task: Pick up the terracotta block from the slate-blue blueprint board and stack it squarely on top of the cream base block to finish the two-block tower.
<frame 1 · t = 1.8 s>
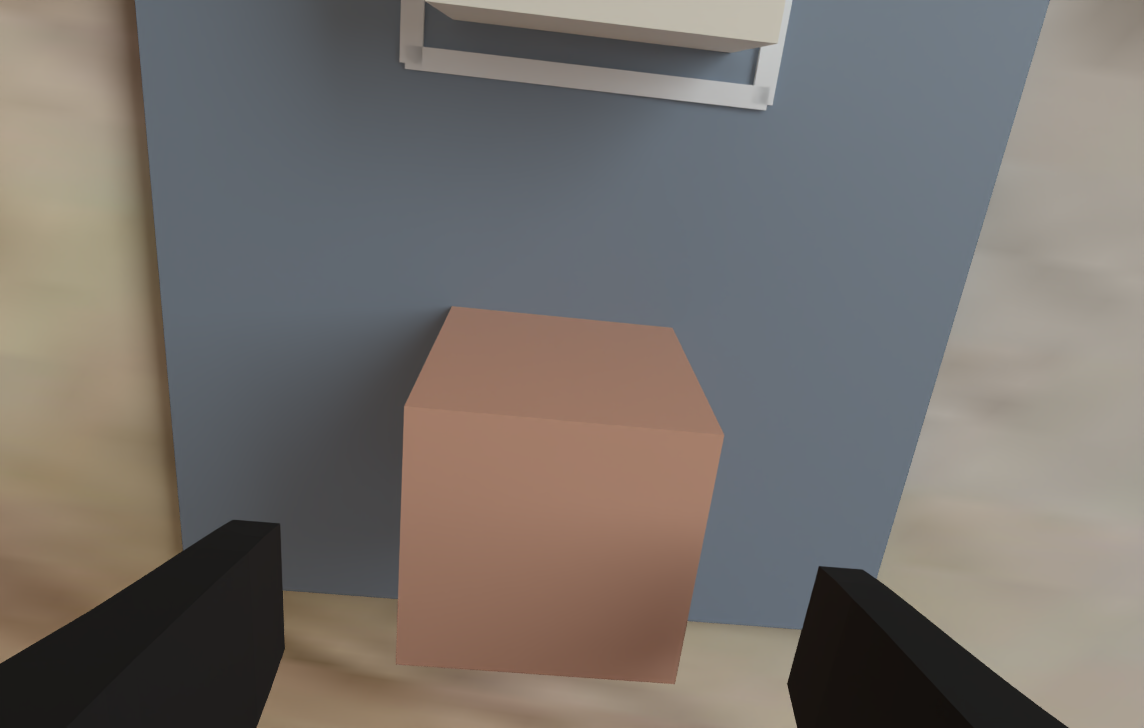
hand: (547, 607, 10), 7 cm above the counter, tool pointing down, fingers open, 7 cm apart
terracotta block: (552, 417, 16), point 1 cm above the counter, touching blueprint board
blueprint board: (577, 175, 15), on the counter
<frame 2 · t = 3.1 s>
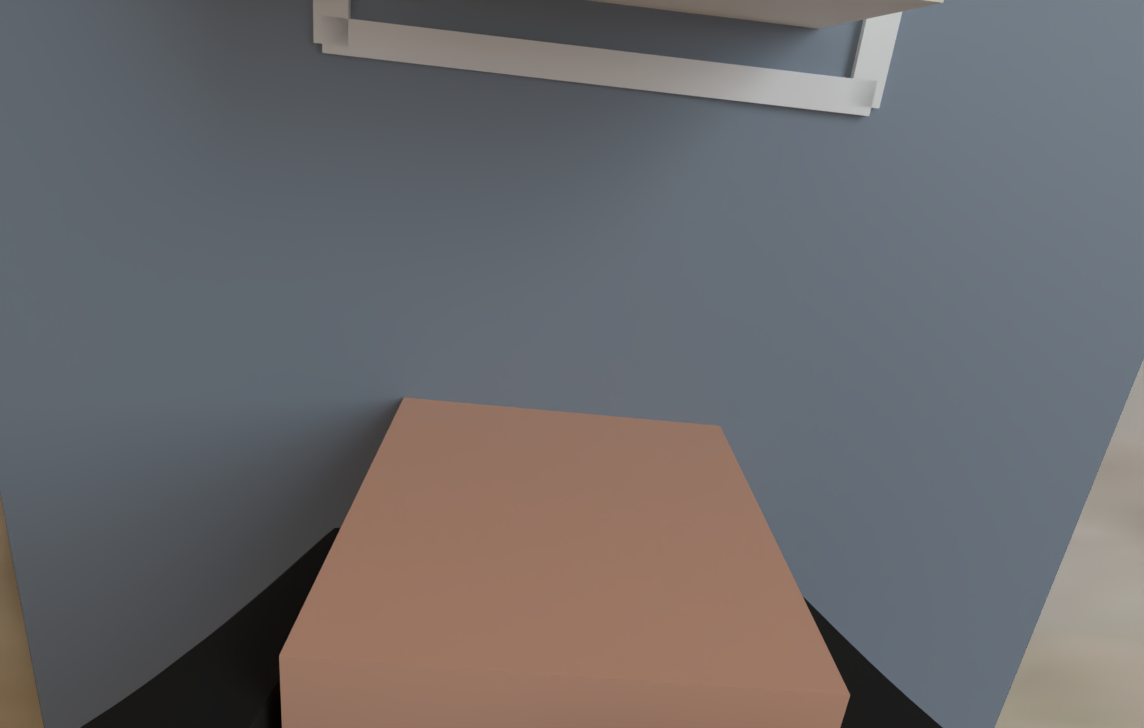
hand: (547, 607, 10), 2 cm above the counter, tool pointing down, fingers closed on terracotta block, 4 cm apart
terracotta block: (548, 546, 11), point 1 cm above the counter, touching blueprint board, gripper
blueprint board: (584, 210, 10), on the counter
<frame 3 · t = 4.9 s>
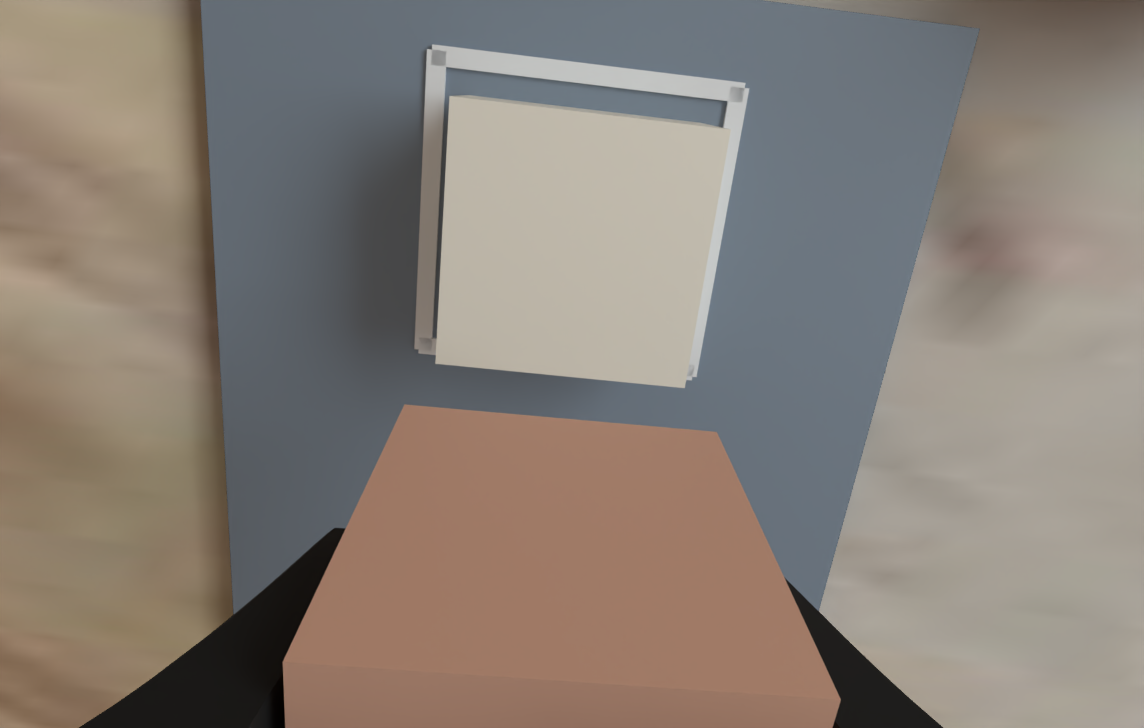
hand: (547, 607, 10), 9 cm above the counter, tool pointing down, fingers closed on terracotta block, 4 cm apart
terracotta block: (547, 550, 11), point 8 cm above the counter, touching gripper
blueprint board: (549, 415, 19), on the counter
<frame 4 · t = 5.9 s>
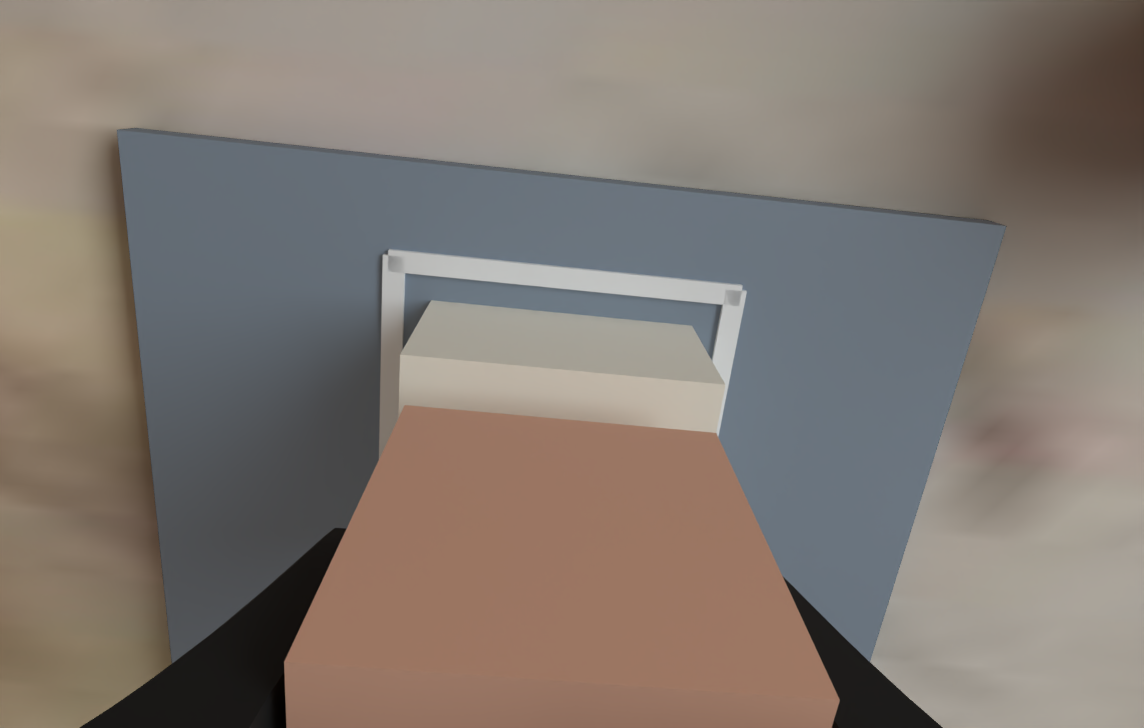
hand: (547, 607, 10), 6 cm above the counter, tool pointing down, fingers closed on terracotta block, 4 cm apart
terracotta block: (547, 551, 11), point 4 cm above the counter, touching gripper
blueprint board: (529, 612, 17), on the counter
when the fingers open (6 cm above the counter, at t = 6.6 s): terracotta block stays where it is, resting on blueprint board.
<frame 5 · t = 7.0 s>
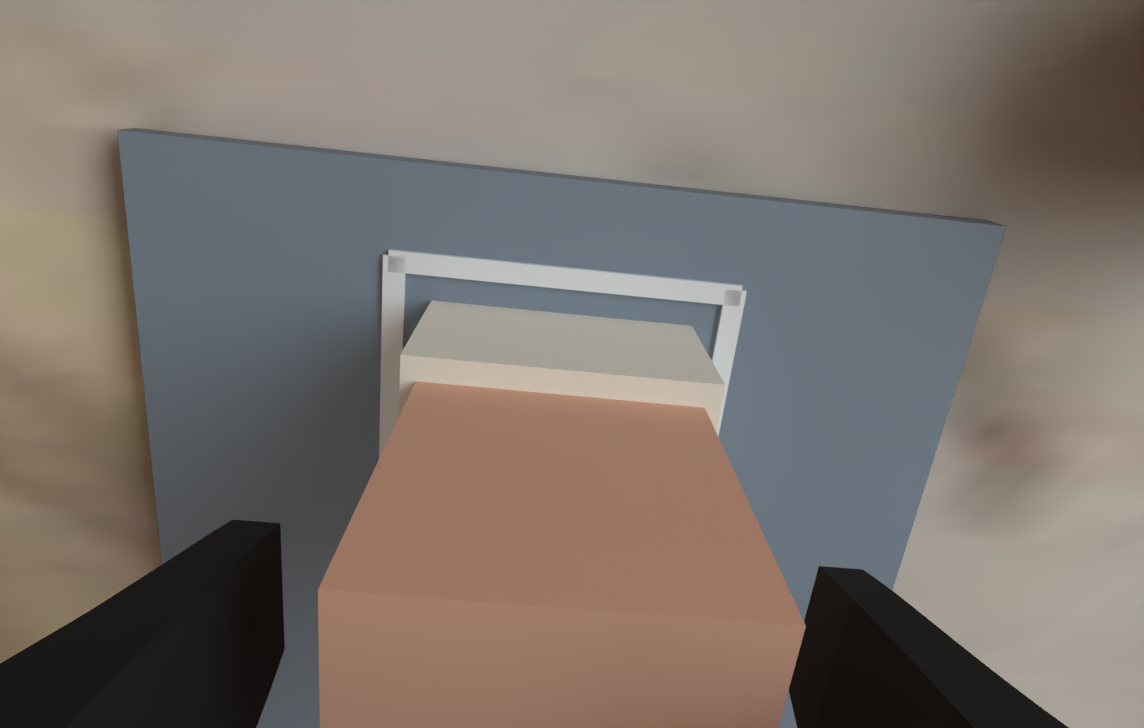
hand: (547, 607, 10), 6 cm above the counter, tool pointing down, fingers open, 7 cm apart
terracotta block: (547, 519, 12), point 4 cm above the counter, touching blueprint board
blueprint board: (529, 612, 17), on the counter
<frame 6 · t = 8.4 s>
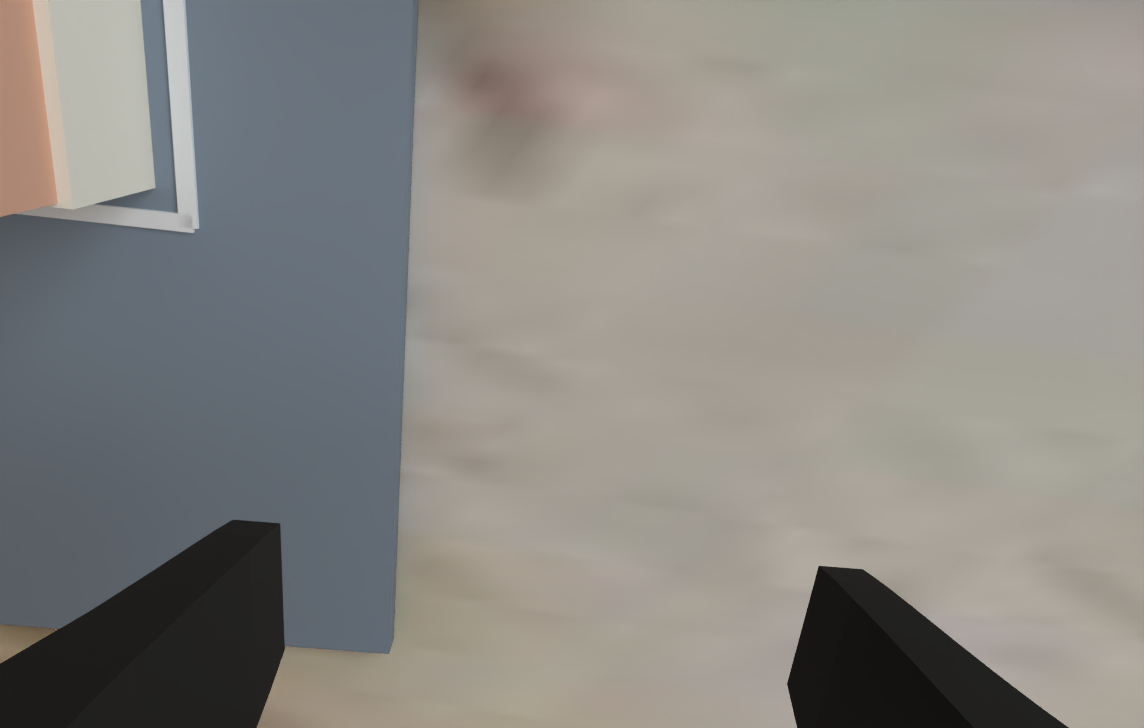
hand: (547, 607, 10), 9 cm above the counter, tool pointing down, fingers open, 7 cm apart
blueprint board: (69, 278, 18), on the counter
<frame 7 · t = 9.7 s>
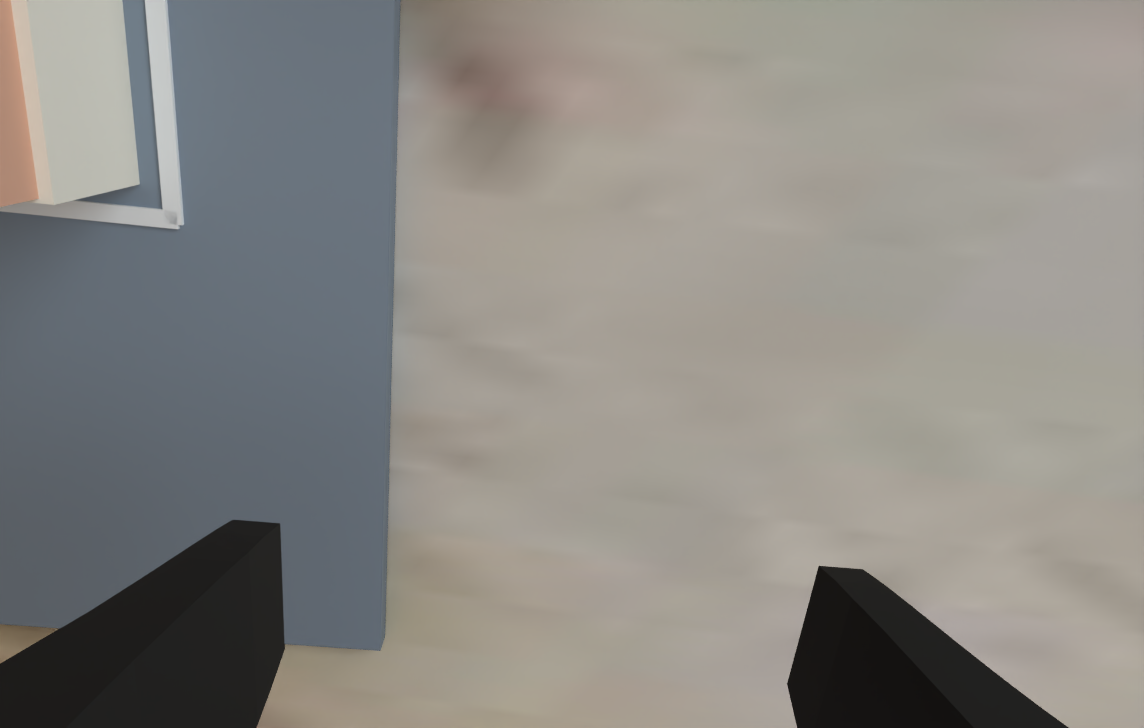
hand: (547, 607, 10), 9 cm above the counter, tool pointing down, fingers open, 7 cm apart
blueprint board: (55, 276, 18), on the counter
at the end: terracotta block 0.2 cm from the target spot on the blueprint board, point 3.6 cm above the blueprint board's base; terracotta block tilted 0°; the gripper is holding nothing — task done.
